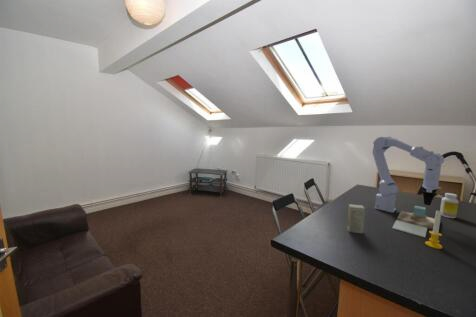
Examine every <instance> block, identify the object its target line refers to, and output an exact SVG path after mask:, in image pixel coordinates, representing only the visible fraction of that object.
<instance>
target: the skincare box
mask: <svg viewBox="0 0 476 317" xmlns="http://www.w3.org/2000/svg"><path fill="white" fill-rule="evenodd" d="M365 211H366V208H365V207H364V205H361V204H351V203H350V204H349V203H348V208H347V220H346V221H347V223H346V224H347V226H346V228H347V232H350V233H355V234H364V228H365V213H366V212H365Z"/></svg>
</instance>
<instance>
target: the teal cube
mask: <svg viewBox="0 0 476 317" xmlns="http://www.w3.org/2000/svg"><path fill="white" fill-rule="evenodd" d="M426 209H427V207H425V206H419V205H414V207H413V216H417V217H422V218H424V217H425V215H426Z"/></svg>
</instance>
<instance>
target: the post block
mask: <svg viewBox="0 0 476 317" xmlns="http://www.w3.org/2000/svg"><path fill="white" fill-rule="evenodd" d="M396 220H398V221H402V222H406V223H410V224H414V225H418V226H422V227H425V228H427V229H431V230H433V227H434V220H435V217H434V218H433V217H429V216H427V215H426V214H425V217H424V218H422V217H417V216H413V212H408V211H404V210H401V211H400V213H399V214H398V216H397V218H396Z"/></svg>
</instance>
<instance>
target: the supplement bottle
mask: <svg viewBox="0 0 476 317" xmlns="http://www.w3.org/2000/svg"><path fill="white" fill-rule="evenodd" d="M457 197H458V194H455V193H452V192H451V193H450V192H445V193H444V197H441V202H440V209H439V211H441V217H445V218H448V219H455V218H457V214H458V209H459V208H458V207H459V200H458V199H457Z"/></svg>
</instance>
